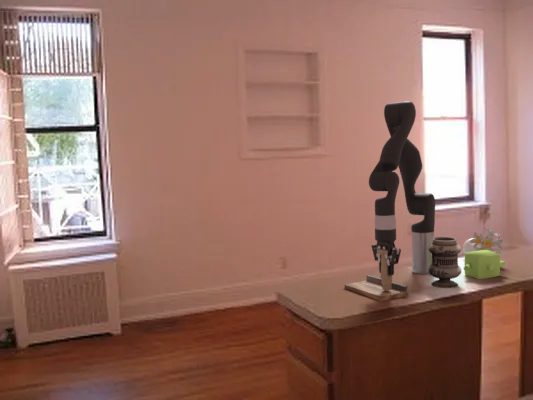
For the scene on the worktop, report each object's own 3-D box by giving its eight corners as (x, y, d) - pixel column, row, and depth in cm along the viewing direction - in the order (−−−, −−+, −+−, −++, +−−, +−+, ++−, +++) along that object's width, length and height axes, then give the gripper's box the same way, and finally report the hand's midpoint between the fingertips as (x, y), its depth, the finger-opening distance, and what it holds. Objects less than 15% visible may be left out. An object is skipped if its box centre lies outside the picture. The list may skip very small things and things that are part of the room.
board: (369, 283, 221) (369, 274, 220) (408, 295, 201) (407, 286, 201) (344, 288, 215) (344, 279, 215) (381, 301, 196) (381, 291, 196)
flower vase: (464, 272, 260) (483, 270, 235) (453, 234, 263) (471, 228, 238) (491, 266, 260) (513, 263, 235) (479, 227, 263) (500, 221, 238)
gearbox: (470, 282, 217) (470, 259, 216) (455, 276, 227) (455, 253, 225) (509, 276, 223) (509, 253, 221) (492, 270, 232) (492, 248, 230)
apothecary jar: (442, 290, 206) (441, 242, 204) (421, 283, 217) (421, 237, 215) (468, 286, 210) (468, 238, 209) (447, 279, 221) (446, 234, 220)
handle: (398, 289, 202) (397, 248, 201) (383, 292, 200) (382, 250, 198) (390, 286, 207) (389, 246, 205) (375, 289, 204) (374, 248, 203)
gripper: (406, 228, 196) (408, 276, 198) (380, 224, 209) (382, 269, 211) (390, 230, 193) (391, 279, 195) (364, 226, 205) (365, 272, 207)
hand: (386, 273), depth 203 cm, fingers closed on handle, 4 cm apart
